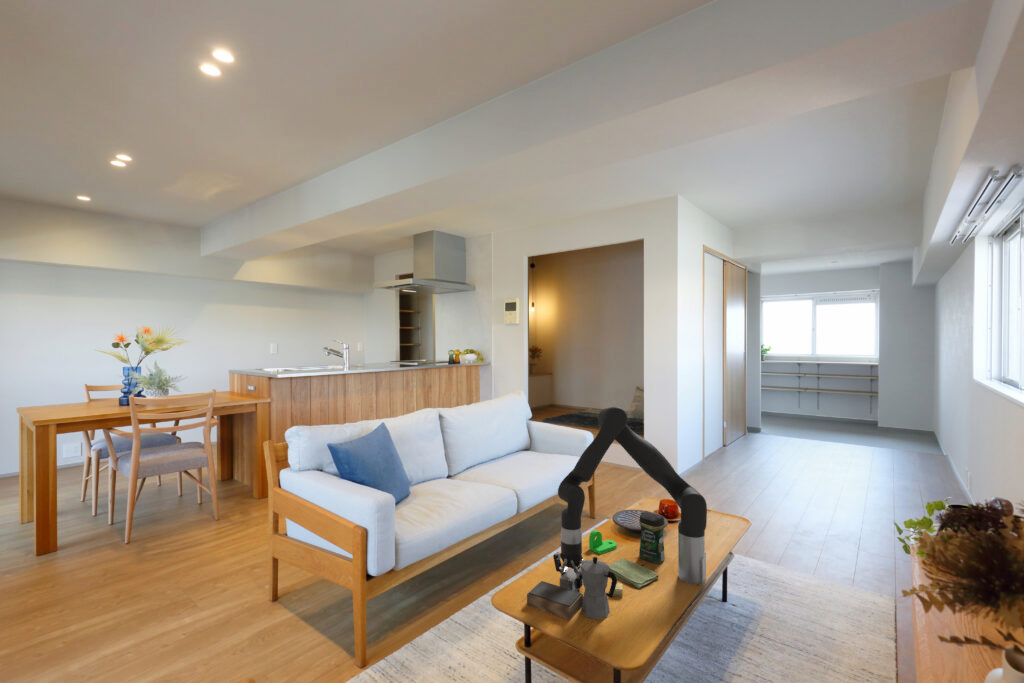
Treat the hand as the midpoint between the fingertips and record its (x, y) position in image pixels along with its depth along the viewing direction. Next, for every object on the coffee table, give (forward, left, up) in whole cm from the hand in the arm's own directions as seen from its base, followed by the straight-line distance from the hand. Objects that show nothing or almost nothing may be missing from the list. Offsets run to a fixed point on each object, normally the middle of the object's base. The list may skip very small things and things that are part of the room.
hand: (571, 585), depth 169 cm
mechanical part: (+2, -36, -1) cm, 36 cm away
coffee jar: (-18, -38, -1) cm, 42 cm away
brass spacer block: (-15, -5, -1) cm, 16 cm away
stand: (0, +13, -1) cm, 13 cm away
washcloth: (-15, -20, -2) cm, 25 cm away
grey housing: (0, 0, -1) cm, 1 cm away
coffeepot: (-14, +9, -1) cm, 17 cm away
